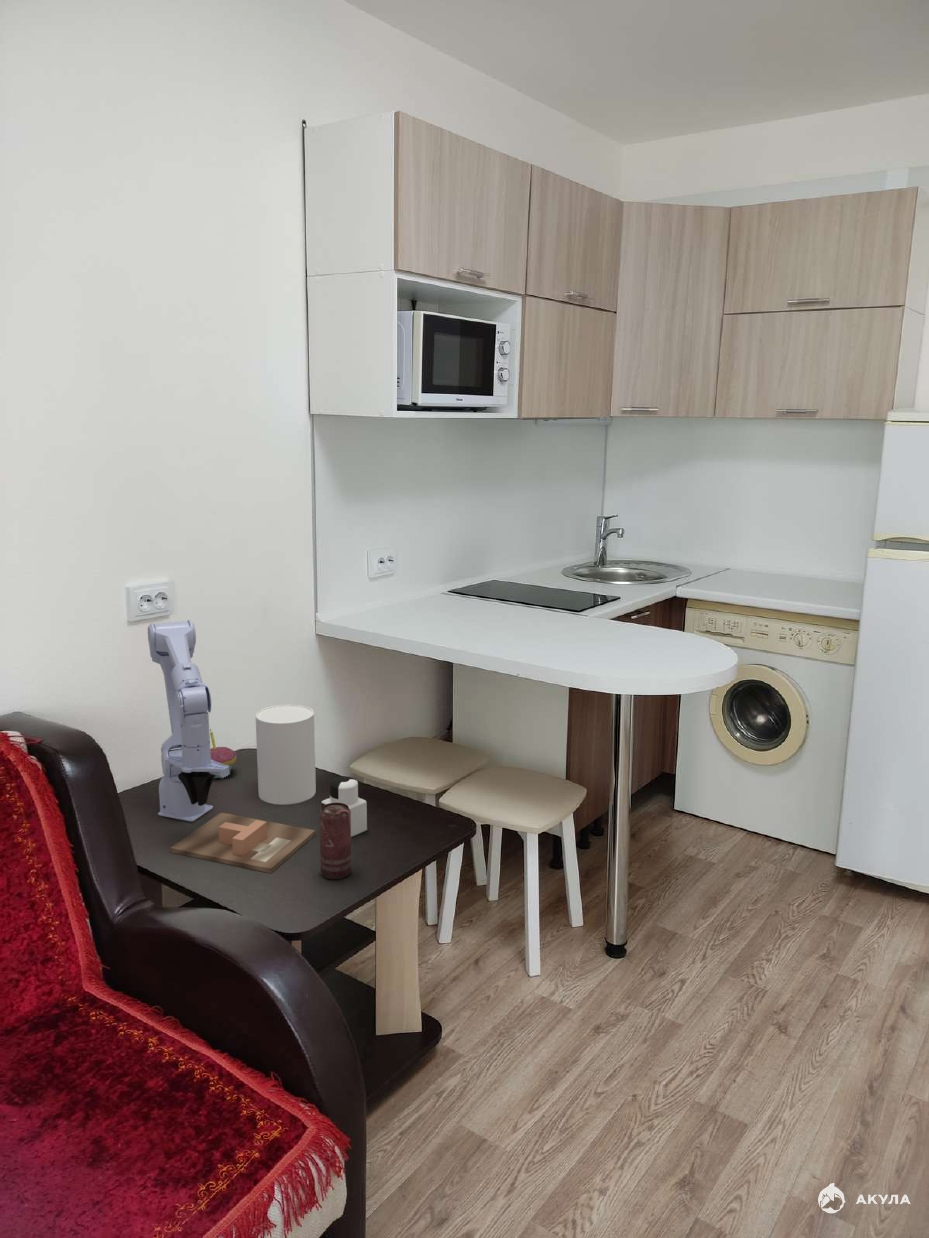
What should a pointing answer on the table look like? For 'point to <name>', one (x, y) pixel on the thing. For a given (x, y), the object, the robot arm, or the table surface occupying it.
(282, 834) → the board
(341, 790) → the medicine bottle
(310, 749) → the canister
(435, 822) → the table surface
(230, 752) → the cupcake
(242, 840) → the t block
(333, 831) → the can
